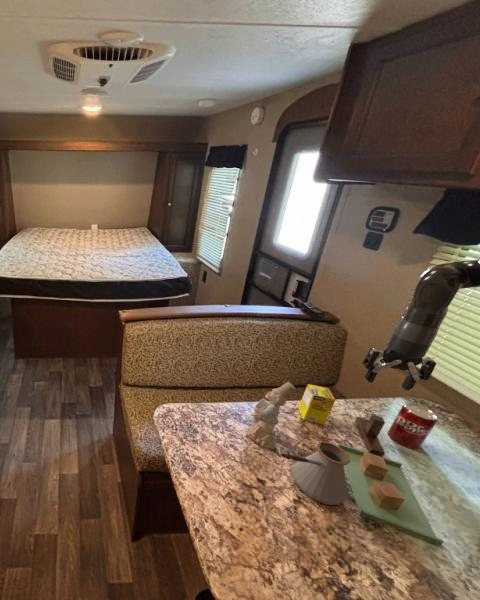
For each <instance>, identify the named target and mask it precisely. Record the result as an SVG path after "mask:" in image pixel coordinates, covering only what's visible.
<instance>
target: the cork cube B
mask: <svg viewBox="0 0 480 600" xmlns="http://www.w3.org/2000/svg"><path fill="white" fill-rule="evenodd" d="M368 492H369V494H370V495H371V496H372V498H373V499H374V501H375V502H376V504H377V505H378V507H382V508H387V509H393V510H398V509H399V507H400V506H401V505H402V503H403V502H404V500H405V499H404V498H403V496H402V495H401V494H400V492H399V491H398V490H397V488H396V487H395V486H394V485H393V484H391V483H385V482H380V481H374V482H373V484H372V486H371V487H370V489H369V491H368Z"/></svg>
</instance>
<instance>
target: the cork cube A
mask: <svg viewBox="0 0 480 600" xmlns="http://www.w3.org/2000/svg"><path fill="white" fill-rule="evenodd" d="M366 452H367V451H365V452H364V454H363V456H362V458H361V460H360V461H359V464H360V467H361V469H362V472H363V474H364V475H367V476H370V477H373V478H376V479H379V480H383V479H384V477H385V475H386V474H387V472H388V471H389V469H388V467H387V465H386V463H385V461H384V459H383V458H381V457H378V456H375V455H372V454H369V453H366Z"/></svg>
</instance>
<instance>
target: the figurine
mask: <svg viewBox="0 0 480 600" xmlns="http://www.w3.org/2000/svg"><path fill="white" fill-rule="evenodd" d="M296 390H297V388H296V387H295V386H294V385H293V384H292V383H291V382H290V381H287V382H285V383H284V384H282V385H280V386H278V387H277V388H272V390H271V391H267V393H266V395H265V398H264V397H263V398H261V399H260V400H259V401H258V402H257V404H256V405H255V406H253V411H254V412H253V413H252V412H251V413H250V416H252V418H251V422H252V423H254V425H250V426H248V427H247V428H246V430H245V432H246V434H247V436H248V437H249V438H250V439H252V440H253V441H254V442H256V443H257V444H258V445H260V446H261V447H263V448H265V449H271V450H275V449H276V448H277V442H276V433H277V429H276V425H278V424H279V418H278V416H279V414H280V407H282V406H285V405H286V403H287V399H288V397H289V396H291V395H292V394H293V393H294V392H295V391H296ZM267 400H268V401H267Z"/></svg>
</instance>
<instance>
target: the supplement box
mask: <svg viewBox="0 0 480 600" xmlns="http://www.w3.org/2000/svg"><path fill="white" fill-rule="evenodd" d="M335 402H336V399H335V397H334V394H333V393H332V392H331V390H330V388H328V387H324V386H319V385H314V384H309V383H308V384H306V388H305V390H304V392H303V395H302V398H301V400H300V402H299V404H298V411H299V414H300V416H301V418H302V420H303V421H307V422H309V423H310V422H311V423H315V424H320V425H323V426H324V425H325V423H326V421H327V419H328V417H329V415H330V413H331V410H332V409H333V406H334V404H335Z"/></svg>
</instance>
